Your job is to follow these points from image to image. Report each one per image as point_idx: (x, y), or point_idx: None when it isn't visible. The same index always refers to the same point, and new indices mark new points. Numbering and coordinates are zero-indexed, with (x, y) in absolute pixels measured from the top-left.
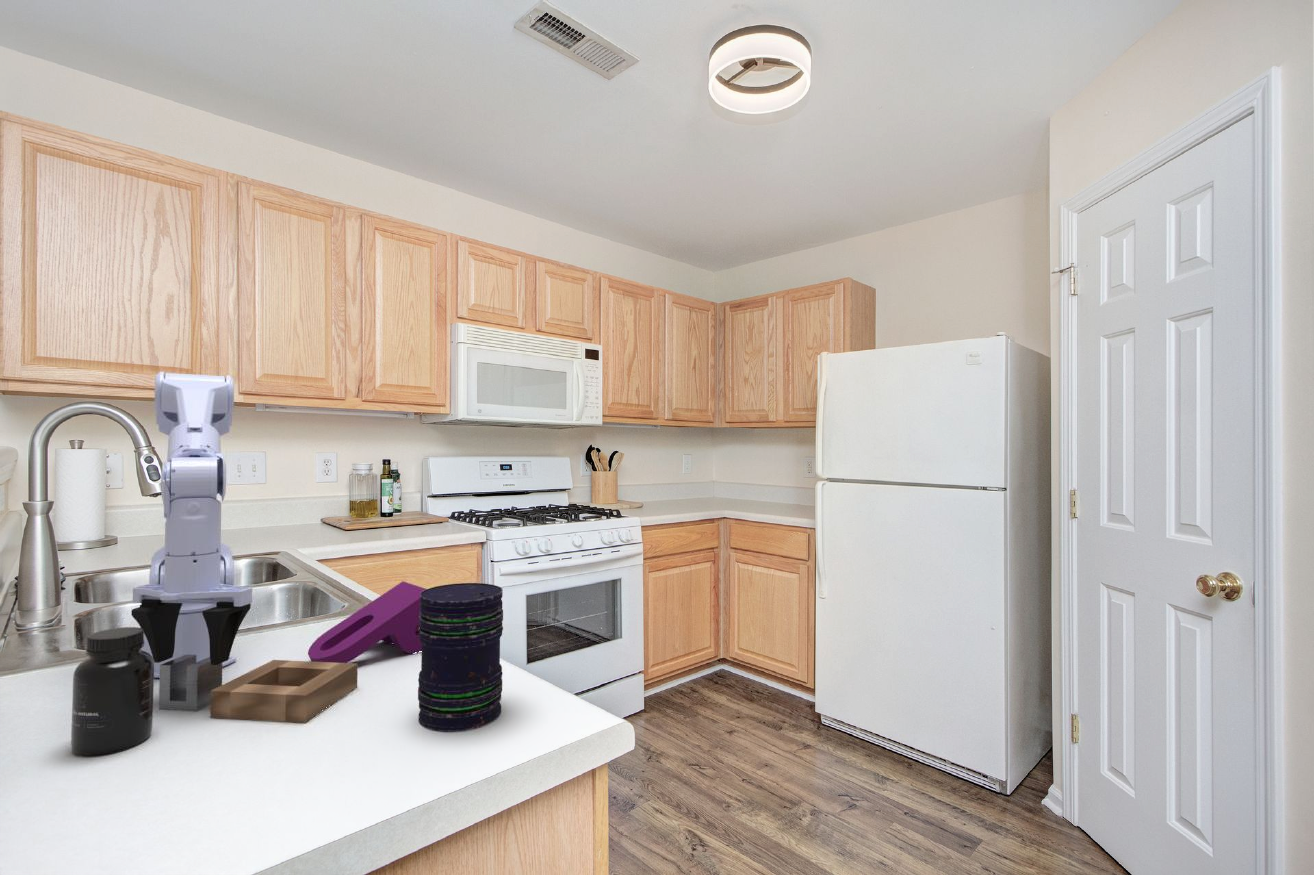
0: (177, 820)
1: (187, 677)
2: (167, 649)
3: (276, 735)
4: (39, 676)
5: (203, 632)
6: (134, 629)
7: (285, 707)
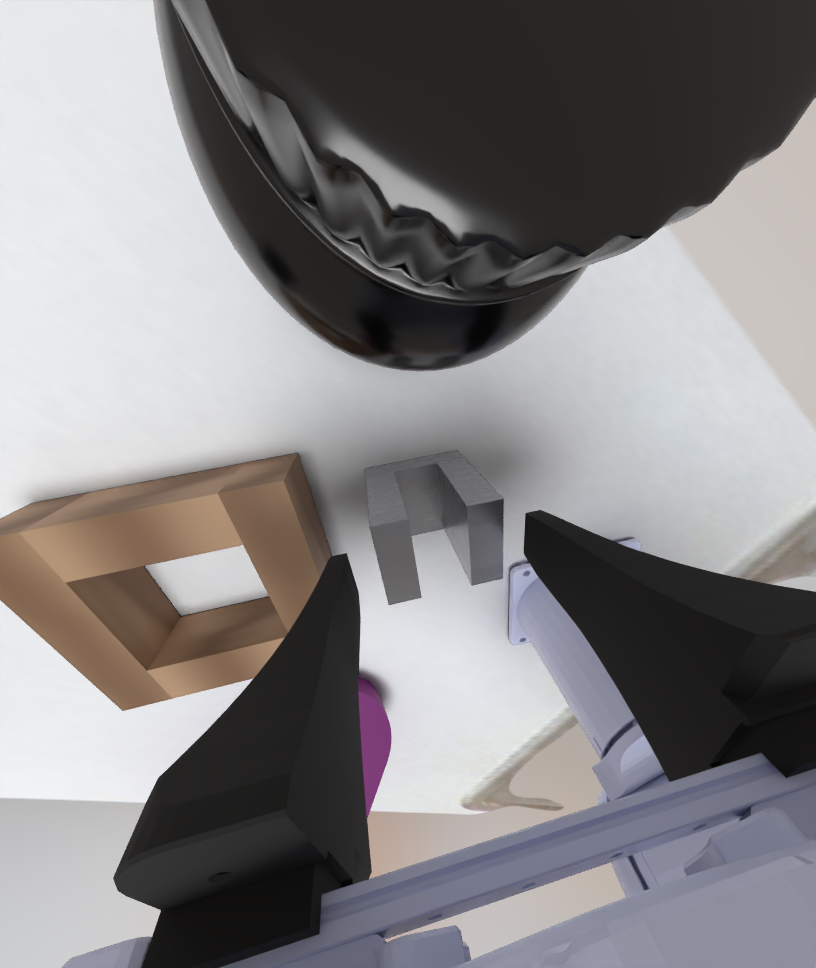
0: None
1: (401, 501)
2: (542, 559)
3: (6, 427)
4: (798, 487)
5: (574, 668)
6: (459, 55)
7: (57, 511)
